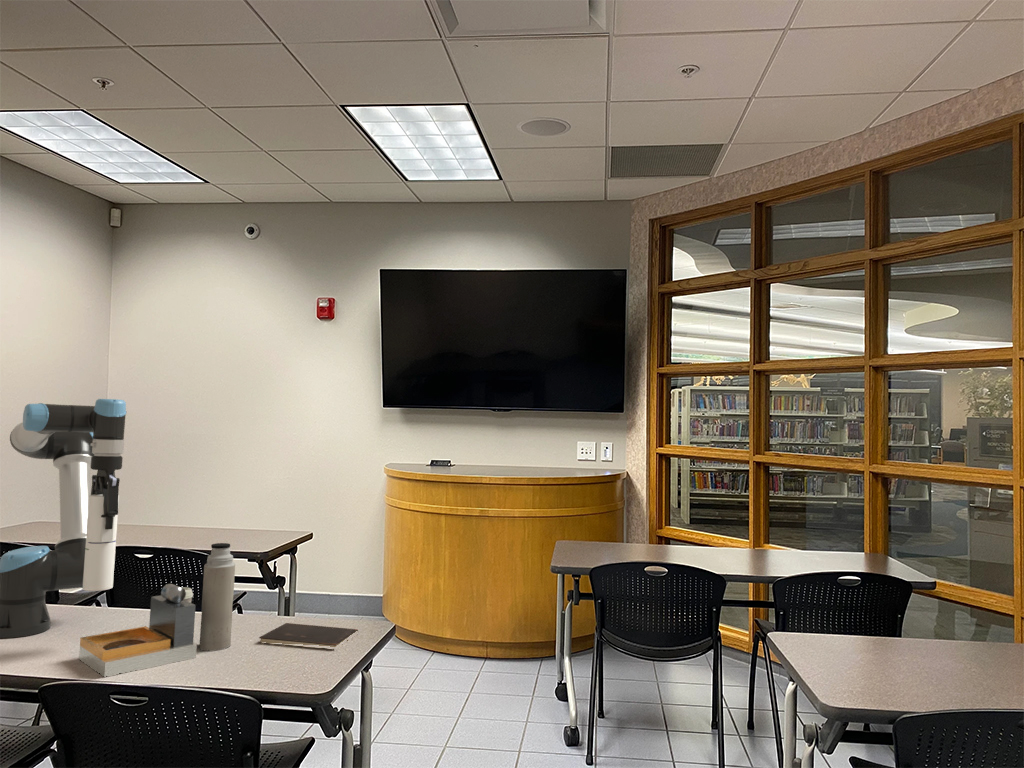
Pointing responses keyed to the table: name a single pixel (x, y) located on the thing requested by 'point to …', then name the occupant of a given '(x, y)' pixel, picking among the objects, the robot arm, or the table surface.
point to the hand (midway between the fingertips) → (101, 539)
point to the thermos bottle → (217, 599)
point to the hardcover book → (307, 635)
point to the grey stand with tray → (146, 638)
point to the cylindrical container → (98, 549)
